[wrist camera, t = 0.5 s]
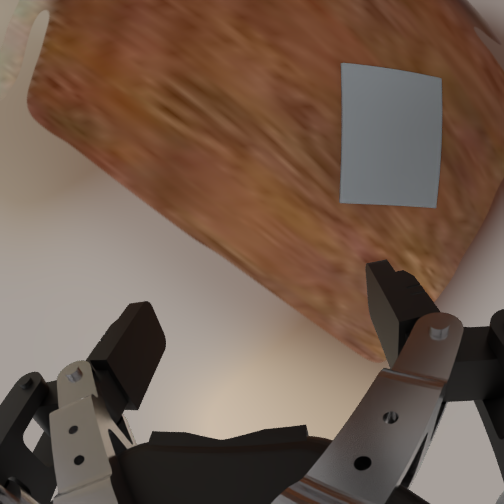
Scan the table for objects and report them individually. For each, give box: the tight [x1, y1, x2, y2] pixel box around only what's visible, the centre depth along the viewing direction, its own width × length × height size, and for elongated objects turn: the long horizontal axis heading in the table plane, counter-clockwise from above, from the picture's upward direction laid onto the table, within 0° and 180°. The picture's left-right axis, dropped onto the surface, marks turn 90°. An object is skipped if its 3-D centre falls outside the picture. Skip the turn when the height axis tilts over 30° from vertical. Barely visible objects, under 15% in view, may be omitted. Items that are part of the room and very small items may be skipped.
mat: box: [339, 63, 442, 208], centre depth 36 cm, size 18×14×1 cm
